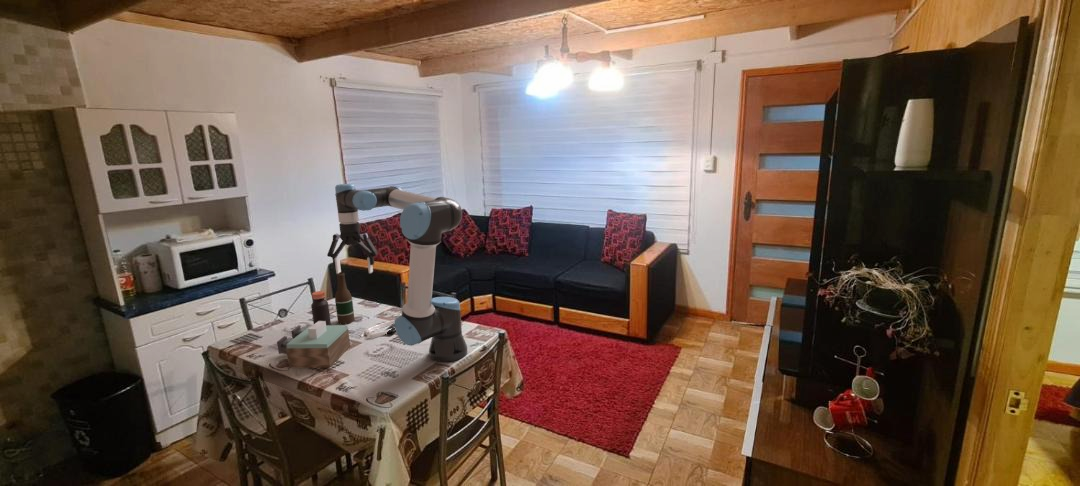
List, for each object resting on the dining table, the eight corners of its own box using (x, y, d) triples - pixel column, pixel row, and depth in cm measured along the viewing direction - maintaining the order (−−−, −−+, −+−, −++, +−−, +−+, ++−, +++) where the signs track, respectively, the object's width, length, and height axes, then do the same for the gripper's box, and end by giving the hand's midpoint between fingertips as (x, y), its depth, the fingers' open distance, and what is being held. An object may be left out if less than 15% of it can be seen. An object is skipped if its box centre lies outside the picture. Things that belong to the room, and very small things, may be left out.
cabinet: (350, 346, 197) (347, 324, 194) (330, 367, 179) (326, 343, 177) (303, 346, 197) (299, 324, 195) (278, 367, 180) (274, 343, 178)
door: (347, 328, 195) (346, 316, 194) (327, 348, 177) (325, 334, 176) (304, 329, 196) (302, 316, 194) (279, 348, 178) (277, 334, 177)
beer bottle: (340, 319, 227) (334, 271, 222) (356, 318, 228) (351, 270, 223) (335, 325, 220) (329, 276, 214) (352, 324, 221) (346, 275, 215)
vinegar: (322, 331, 213) (317, 289, 208) (335, 333, 211) (330, 290, 206) (312, 338, 206) (305, 294, 202) (324, 339, 204) (319, 295, 200)
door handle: (419, 324, 220) (369, 341, 202) (407, 319, 226) (358, 335, 208) (418, 319, 219) (368, 336, 201) (407, 314, 226) (357, 330, 208)
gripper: (382, 220, 193) (387, 269, 198) (323, 221, 194) (329, 270, 199) (375, 223, 186) (381, 274, 191) (314, 224, 187) (321, 275, 192)
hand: (354, 272), depth 195 cm, fingers open, 13 cm apart
